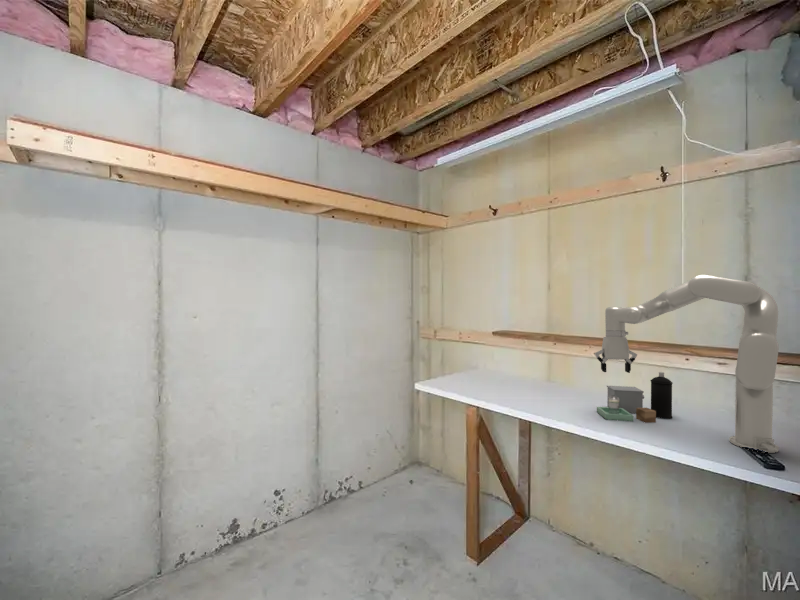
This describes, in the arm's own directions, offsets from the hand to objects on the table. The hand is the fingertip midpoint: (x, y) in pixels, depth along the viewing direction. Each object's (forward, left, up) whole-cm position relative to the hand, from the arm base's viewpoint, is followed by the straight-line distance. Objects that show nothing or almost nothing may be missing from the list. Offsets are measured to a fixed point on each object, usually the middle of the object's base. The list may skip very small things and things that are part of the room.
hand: (615, 371), depth 158 cm
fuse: (0, 0, -20) cm, 20 cm away
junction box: (+11, -8, -20) cm, 24 cm away
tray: (0, 0, -20) cm, 20 cm away
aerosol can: (+5, -21, -21) cm, 30 cm away
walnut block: (-3, -11, -21) cm, 23 cm away
